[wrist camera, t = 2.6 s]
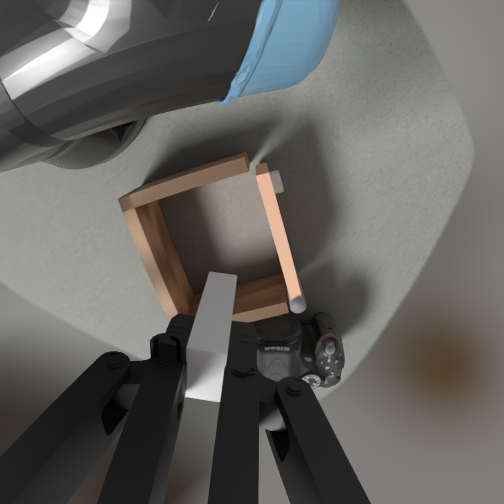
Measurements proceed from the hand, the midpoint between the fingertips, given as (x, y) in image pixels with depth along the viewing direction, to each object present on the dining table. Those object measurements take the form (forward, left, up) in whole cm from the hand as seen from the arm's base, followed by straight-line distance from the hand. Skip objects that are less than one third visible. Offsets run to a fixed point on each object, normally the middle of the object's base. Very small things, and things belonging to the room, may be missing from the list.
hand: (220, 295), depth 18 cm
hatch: (+2, +4, -16) cm, 16 cm away
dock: (+1, -2, -16) cm, 16 cm away
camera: (+15, +1, -16) cm, 22 cm away
